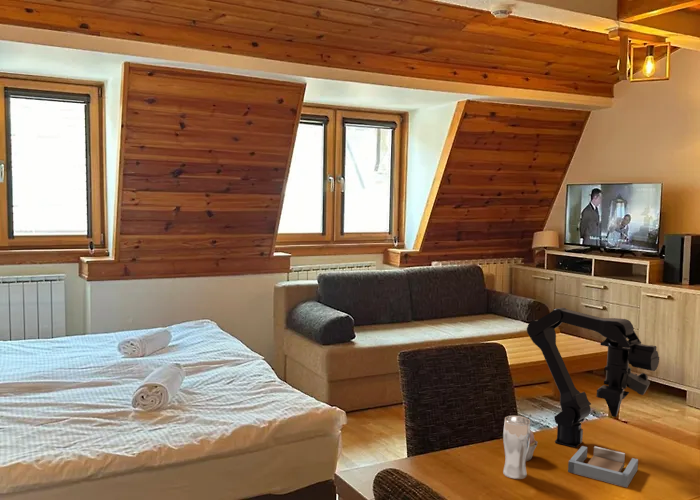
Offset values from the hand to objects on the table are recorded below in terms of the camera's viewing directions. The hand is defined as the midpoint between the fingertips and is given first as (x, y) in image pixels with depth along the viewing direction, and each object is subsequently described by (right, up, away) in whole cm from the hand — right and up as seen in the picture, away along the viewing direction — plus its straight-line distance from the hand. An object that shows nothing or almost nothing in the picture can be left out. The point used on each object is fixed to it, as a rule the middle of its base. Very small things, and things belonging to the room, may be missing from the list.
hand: (614, 416), depth 180 cm
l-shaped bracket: (-6, -13, -8) cm, 16 cm away
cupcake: (-27, -12, -1) cm, 30 cm away
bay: (-6, -13, -8) cm, 16 cm away
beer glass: (-32, -12, -12) cm, 36 cm away
